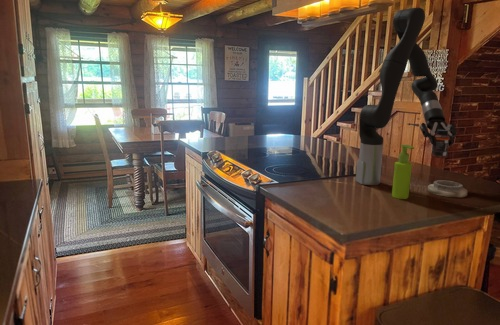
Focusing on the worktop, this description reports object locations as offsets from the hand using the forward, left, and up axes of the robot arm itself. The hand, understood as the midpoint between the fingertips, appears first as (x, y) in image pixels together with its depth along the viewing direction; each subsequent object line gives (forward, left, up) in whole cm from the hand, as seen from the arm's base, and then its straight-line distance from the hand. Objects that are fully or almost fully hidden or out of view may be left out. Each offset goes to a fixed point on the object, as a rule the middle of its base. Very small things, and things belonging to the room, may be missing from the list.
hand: (442, 144), depth 151 cm
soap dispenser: (-23, -11, -18) cm, 31 cm away
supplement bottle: (0, +2, -6) cm, 6 cm away
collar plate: (-1, -7, -18) cm, 19 cm away
